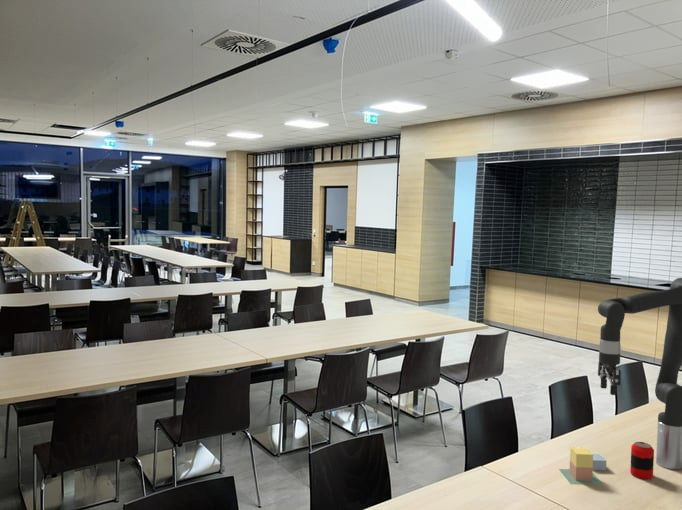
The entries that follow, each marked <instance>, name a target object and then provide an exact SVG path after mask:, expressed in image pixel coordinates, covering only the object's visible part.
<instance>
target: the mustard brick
mask: <svg viewBox="0 0 682 510" xmlns="http://www.w3.org/2000/svg"><path fill="white" fill-rule="evenodd" d="M569 451H570V452H569V455H570V456H569V462H570V461H571V462H572V463H573V464H574V465H575V467H585V468H593V454H594V453H593V452H591V450H589V449H588V448H587V447H578V446H576V447H570V450H569Z"/></svg>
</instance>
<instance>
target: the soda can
mask: <svg viewBox="0 0 682 510" xmlns="http://www.w3.org/2000/svg"><path fill="white" fill-rule="evenodd" d="M654 458H655V449H654V448H653V447H652V445H651V444H649V443H647V442H644V441H635V442H633V444H632V445H631V449H630V470H629V472H630V474H631V475H632V476H633V477H634V478H637V479H640V480H651V479H653V477H654V461H655V459H654Z"/></svg>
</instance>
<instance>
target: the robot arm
mask: <svg viewBox="0 0 682 510" xmlns="http://www.w3.org/2000/svg"><path fill="white" fill-rule="evenodd" d="M597 306H598V307H597V311H598V314H599V315H601V317H603V318H606V321H605V324H603V325H601V326H600V337H599V344H598V364H597V365H598V367H597V376H599V379H600V388H601V389H607V388H608V382H609V384H610V387H609V389H610V390H609V394H610V395H611V396H616V395H618V386H621V384H622V383H621V382H622V381H621V379H622V378H621V377H622V376H621V372H622V371H621V369H617V365H620V364H621V350H622V349H621V330H622V327H623V325H624V320H625V315H626V314H628V315H630V314H632V315H633V314H637V313H641V312H646V311H649V310H653V309H654V310H655V309H657V308H661V307H667V306H668V315H667V320H666V321H667V322H666V331H665V336H664V342H663V352H662V356H661V363H660V368H659V371H658V376H657V380H656V384H655V389H654V393H655V397H656V398H657V400H658V401H659V402H661V403H663V404H664V405H665V406H664V407H665V408H664V411H662V412H658V414H657V435H656V453H655V454H656V456H655V461H656V464H657V465H659V466H660V467H663V468H666V469H670V470H682V385H680V384H678V376H679V372H680V369H681V367H682V277H678V278H676V279H674V280H673V281H672V282H671V283H670V286H669V289H664V290H655V291H654V290H653V291H646V292H640V293H636V294H632V295H629V296H624V297H616V298H610V299H605V300H603V301H602V302H600V303H599V304H598V305H597Z"/></svg>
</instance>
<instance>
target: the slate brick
mask: <svg viewBox="0 0 682 510" xmlns="http://www.w3.org/2000/svg"><path fill="white" fill-rule="evenodd" d="M592 454H593V471H607V459H605V458H604V457H603V456H602V455H601V454H600V453H592Z"/></svg>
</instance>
